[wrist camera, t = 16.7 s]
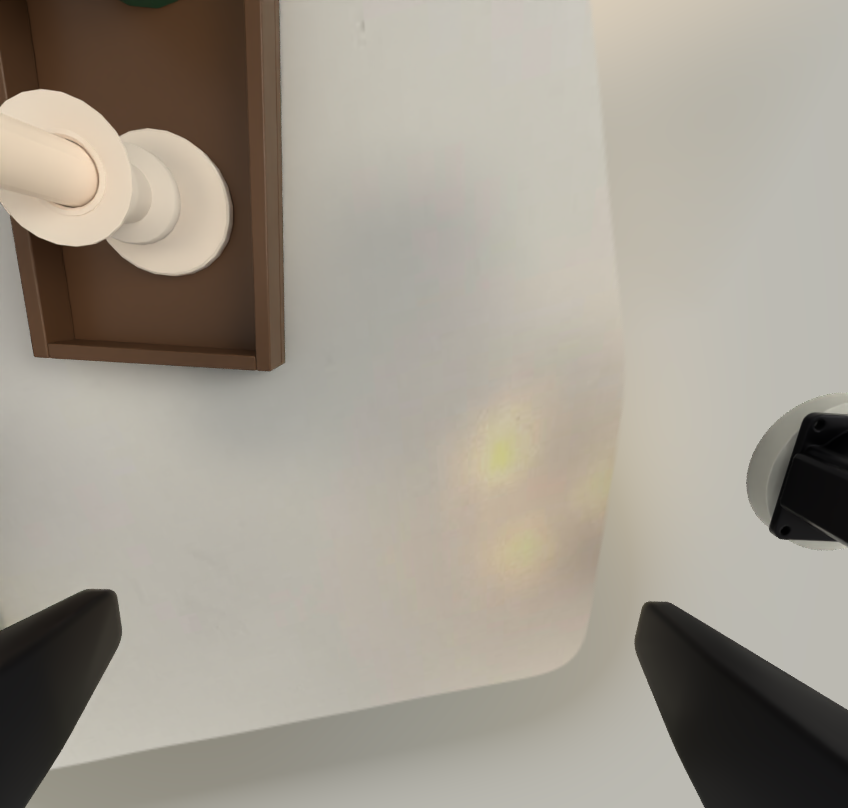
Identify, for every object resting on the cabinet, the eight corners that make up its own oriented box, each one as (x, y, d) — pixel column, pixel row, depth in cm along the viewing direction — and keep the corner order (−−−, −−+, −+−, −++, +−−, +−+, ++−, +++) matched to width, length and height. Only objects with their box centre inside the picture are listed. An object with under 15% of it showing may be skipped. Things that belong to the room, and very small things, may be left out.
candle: (80, 234, 17) (-396, 155, 7) (124, 103, 16) (-369, -216, 6) (205, 299, 18) (-61, 313, 8) (255, 179, 17) (20, 13, 7)
